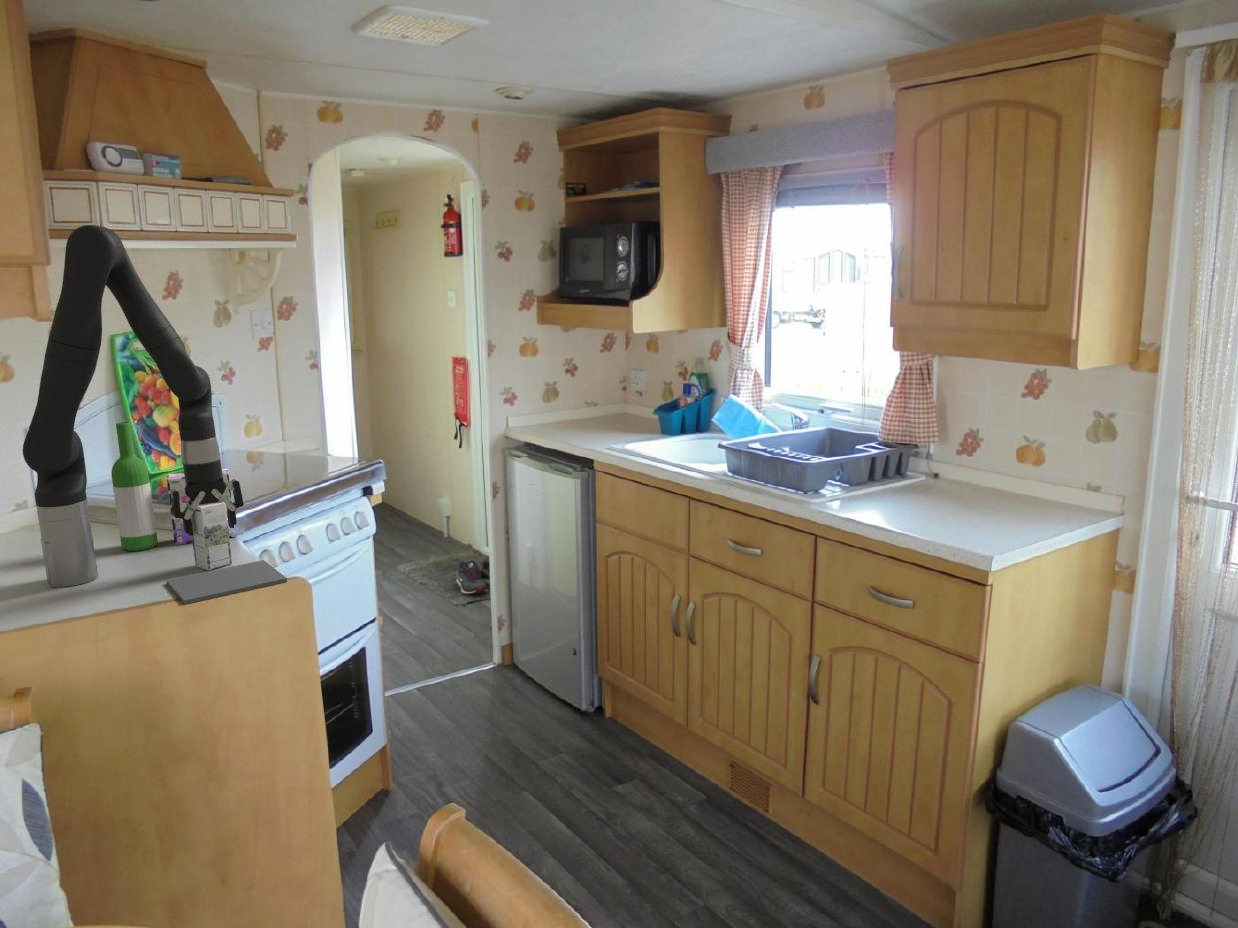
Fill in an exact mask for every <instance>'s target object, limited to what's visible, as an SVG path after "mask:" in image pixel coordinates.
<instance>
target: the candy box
mask: <svg viewBox="0 0 1238 928" xmlns="http://www.w3.org/2000/svg"><path fill="white" fill-rule="evenodd" d="M222 474H223V480H224V482H229V481H231V480H230V472H229V468H222ZM166 476H167V477H166V482H167V483H166V484H167V493H168V503H169V511H170V520H171V525H172V533H173V540H174V545H175V546H177V545H186V544H193V540H192V536H189V535H188V534H187V533H186V532H185V531H184V526H183V519H181V518H175V517H174V516H173V515H172V506H171V494H170V491H171V490H172V489H175V490H182V489H185V486H186V482H185V476H184V472H183V473H170V474H168V473H167V475H166ZM223 496H224V497H225V498H226V499H227V500H228V501H229V502H230V503H233V499H232V491H231V490H230V489H229V487H227V488H226V490H225V492H224V493H223ZM189 500H190V498H189V497H188V496H187V495H186V494H184V495H183V498H182V499H181V500H180V512H183V511H184V509H185V508H186V505H187V503H188V501H189ZM191 503H192V502H191ZM226 510H228V508H227V507H226Z"/></svg>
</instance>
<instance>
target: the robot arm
mask: <svg viewBox="0 0 1238 928" xmlns="http://www.w3.org/2000/svg"><path fill="white" fill-rule="evenodd" d="M64 254H65V255H64V265H63V276H62V284H61V285H62V286H61V290H60V294H59V298H58V301H57V305H56V308H55V311H54V315H53V320H52V323H51V328H50V332H49V334H48V338H47V339H48V340H47V344H46V348H45V352H44V358H43V364H42V371H41V374H40V375H41V376H40V381H39V388H38V395H37V396H38V397H37V401H36V406H35V409H34V412H33V415H32V419H31V421H30V423H29V424H30V425H29V427H28V430H27V433H26V436H25V437H24V440H23V445H22V456H23V459H24V461H25V464H27V466H28V467H29V468H30V469H31V470H32V471H34V472H35V473H36V476H37V477H36V478H37V481H36V488H35V490H34V499H35V500H34V501H35V506H36V513H37V518H38V524H39V531H40V537H41V538H40V542H41V543H40V544H41V550H42V555H43V556H42V557H43V561H44V568H45V573H46V581H47V583H48V584H49V586H50V588H51V589H52V588H57V587H58V588H59V587H71V586H76V585H82V584H86V583H89V582H91V581H93V580H95V579H97V578H98V577H99V571H98V564H97V557H96V550H95V545H94V538H93V537H94V536H93V530H92V525H91V524H92V523H91V517H90V511H89V505H88V498H87V485H88V484H87V483H88V481H87V480H88V477H87V469H86V460H85V453H84V447H83V442H82V439H81V438H80V436H79V434H78V433H77V432H76V430H75V423H76V419H77V418H76V417H77V414H78V412H79V411H78V410H79V408H80V405H81V403H82V401H83V399H84V396H85V395H86V392H87V390H88V389H89V386H90V384H91V382H92V379H93V377H94V374H95V372H96V368H97V366H98V365H97V364H98V360H99V355H100V351H101V345H102V341H103V339H102V338H103V316H102V303H103V296H104V292H105V289H106V287H107V289H109V291H110V292H111V294H112V295H113V296H114V298H115V300H116V301H117V304H119V307H120V308H121V310H122V312H123V315H124V316H125V318H126V320H127V322H128V325H129V327H130V329H131V331H132V332H133V333H134V335H135V336H136V338H137V339H138V341H139V342H140V344H141V345H142V347H143V348H144V350H145V351H146V353H148V355H149V356H150V358H151V359H152V360H153V362H154V363H155V365H156V367H157V368H158V371H159V373H160V375H161V377H162V378H163V380H164V382H165V383H166V385H167V387H168V388H169V390H170V391H171V393H173V395H174V396H175V397H176V398H177V401H178V409H179V415H178V419H177V422H178V423H177V424H178V430H179V439H180V454H181V455H180V458H181V462H182V469H183V473H184V476H185V482H186V486H185V489H182V490H175V489H172V490H171V491H170V494H171V506H172V515H173V516H174V517H175V518H181V519H183V526H184V531H185V532H186V533H187V534H188V535H189V536H192V535H193V527H192V521H191V519H190V517H191V515H192V513H193V512H194V511H195V510H196V508H197V506H198V505H201V504H207V503H214V502H218V501H219V500H220V501H221V502H222V503H223V502H224V503H226V507H227V508H228V510H227V517H228V525H229V527H230V528H234V525H237V521H238V520H237V514H236V510H238V509H239V508H242V507H244V505H245V503H244V500H243V499H244V498H243V494H242V488H241V484H240V481H239V480H237V479H234V478H233V479H231V480H230V481H229V482H224V480H223V474H222V469H223V468H222V461H221V453H220V446H219V443H218V440H217V439H218V438H217V435H216V427H215V420H214V416H213V415H214V414H213V402H212V401H213V399H212V397H213V396H212V394H213V393H212V383H211V379H210V375H209V374H208V373H207V371H206V370H205V369H203V368H202V367H200V366H198V365H196V364H195V363H194V361H193V360H192V358H191V356H189V354H188V353H187V351H186V346H185V343H184V342H183V339H181V337H180V335H179V333H178V332H177V331H176V329H175V328H174V327H173V325H172V324H171V322H170V321H169V319H168V318H167V316H166V315H165V314H164V312H163V311H162V310H161V308H160V307H159V305H158V304H157V303H156V301H155V299H154V298H153V297H152V296H151V294H150V293H149V291H148V289H147V288H146V286H145V285H144V283H143V281H142V279H141V278H140V276H139V274H138V273H137V272H138V271H136V269H135V266H134V265H133V262H132V260H131V258H130V256H129V254H128V252H127V250H126V248H125V245H124V244H123V241H122V240H121V237H120V236H119V235H118V234H117V233H116V232H115V231H114V230H112V229H110V228H108V227H105V226H101V225H94V224H86V225H85V224H84V225H82V226H78V227H77V228H75V229H74V230H73V231H72V232H71V233H70V234H69V236H68V238H67V240H66V243H65V253H64ZM227 487H229V489H230V490H231V492H232V494H233V499H234V502H233V501H232V503H230V502H229V501H228V500H227V499H226V498H225V497H224V496H223V493H224V492H225V490H226V488H227ZM184 494H186V495H187V496H188V497H189V498H190V500H189V501H188V503H187V505H186V508H185V509H184V511H183V512H180V500H181V499H182V498H183V495H184ZM191 502H192V503H191Z"/></svg>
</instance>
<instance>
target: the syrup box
mask: <svg viewBox="0 0 1238 928" xmlns="http://www.w3.org/2000/svg"><path fill="white" fill-rule="evenodd" d="M190 519H191V521H192V527H193V535H192V540H193V543H192V547H193V555H194V556H193V557H194V564H195V566H196V567H197V568H200V569H202V570H205V571H207V572H208V571H212V570H217V569H221V568H222V567H223V568H225V567H226V566H231V565H233V560H232V559H233V558H232V552H231V551H232V550H231V549H232V547H231V540H230V539H231V538H229V529H228V520H227V510H226V503H224V502H223V503H222V502H221V501H220V500H219V501H218V502H214V503H207V504H201V505H198V506H197V508H196V510H195V511H194V512H193V513H192V515H191V517H190Z"/></svg>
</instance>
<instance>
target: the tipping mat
mask: <svg viewBox="0 0 1238 928" xmlns="http://www.w3.org/2000/svg"><path fill="white" fill-rule="evenodd" d="M284 583H288V578H287V576H285V575H283V573H281V572H280V571H278V570H277V569H275V567H273V565H271V564H269V562H267V561H265V560H264V559H263V560H258V561H252V562H248V563H244V564H237V565H233V566H228V567H223V568H222V567H221V568H216V569H212V570H209V571H208V570H207V571H204V572H198V573H194V574H188V575H183V576H179V577H174V578H169V579H166V585H167V586H168V587H169V588H170V589H171V590H172V592H173V593H174V594H175V595H176V596H177V597H178V599H180V601H181V602H182V603H183V604H184V605H188V604H193V603H197V602H201V601H203V602H204V601H206V600H211V599H215V598H216V599H217V598H220V597H225V596H229V595H234V594H238V593H242V592H247V591H252V590H256V589H261V588H266V587H270V586H274V585H279V584H284Z"/></svg>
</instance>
